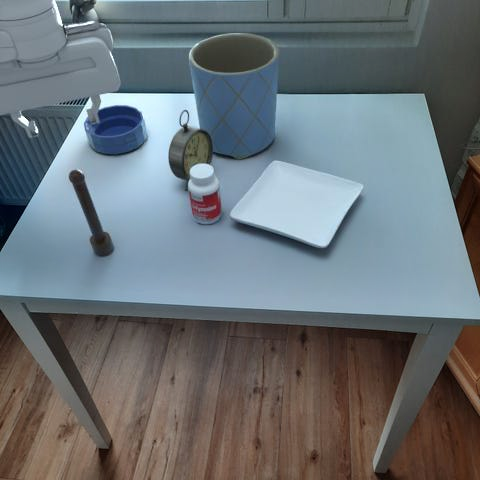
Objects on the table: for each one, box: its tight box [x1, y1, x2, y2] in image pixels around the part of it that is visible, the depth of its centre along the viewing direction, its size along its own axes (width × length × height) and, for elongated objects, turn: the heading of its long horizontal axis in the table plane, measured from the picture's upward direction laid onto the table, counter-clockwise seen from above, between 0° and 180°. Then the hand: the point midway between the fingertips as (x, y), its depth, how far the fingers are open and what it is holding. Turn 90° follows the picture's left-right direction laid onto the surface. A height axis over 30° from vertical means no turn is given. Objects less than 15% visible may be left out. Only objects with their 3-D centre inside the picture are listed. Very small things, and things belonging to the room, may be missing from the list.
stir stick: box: [68, 169, 115, 257], centre depth 86 cm, size 4×4×18 cm
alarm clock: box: [167, 109, 214, 192], centre depth 99 cm, size 11×5×16 cm, turn 148°
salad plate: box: [229, 160, 364, 249], centre depth 96 cm, size 21×21×3 cm
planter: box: [188, 32, 280, 160], centre depth 107 cm, size 19×19×20 cm
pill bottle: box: [188, 164, 223, 225], centre depth 94 cm, size 6×6×11 cm
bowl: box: [83, 104, 148, 155], centre depth 115 cm, size 14×14×5 cm
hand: (64, 128), depth 73 cm, fingers open, 8 cm apart
